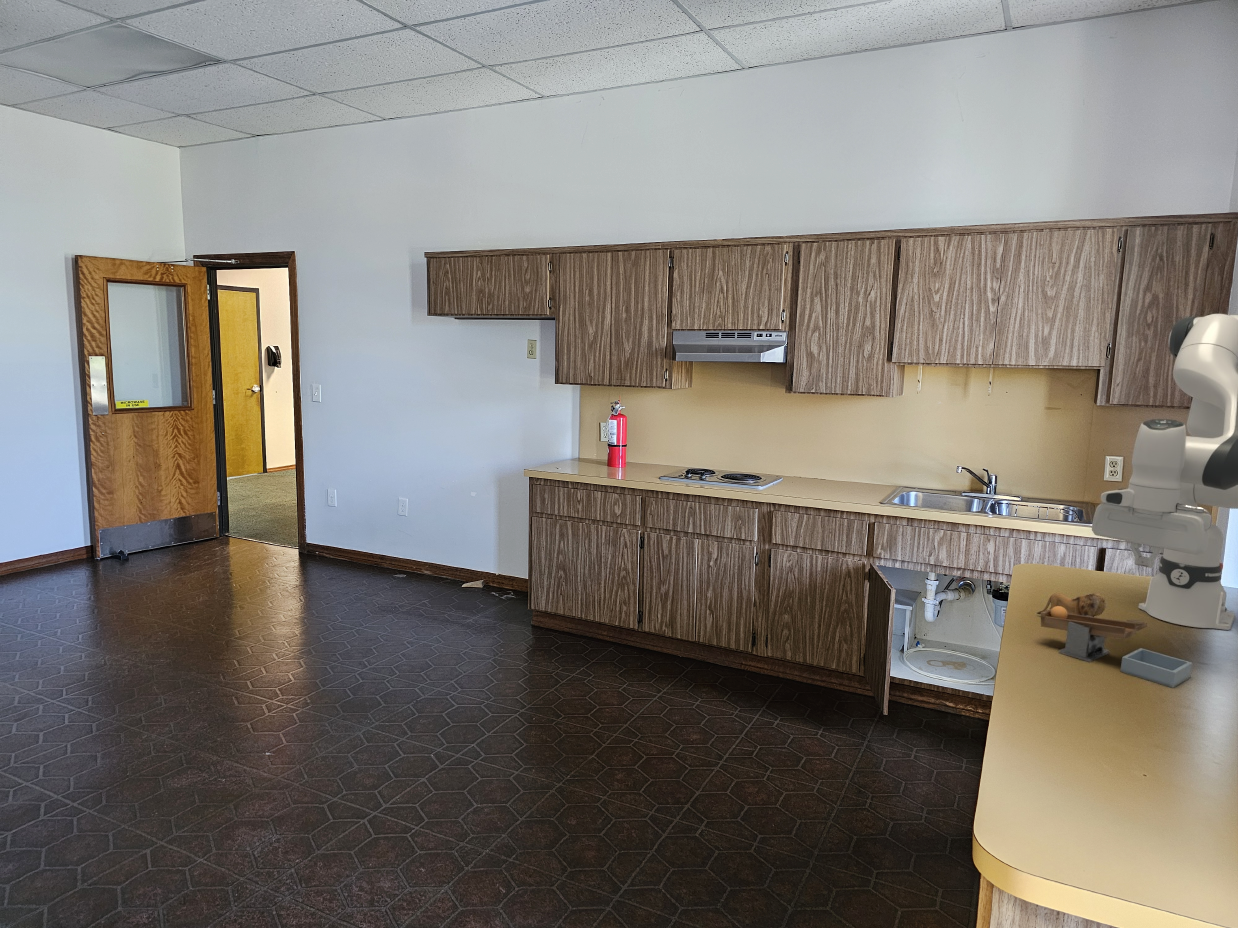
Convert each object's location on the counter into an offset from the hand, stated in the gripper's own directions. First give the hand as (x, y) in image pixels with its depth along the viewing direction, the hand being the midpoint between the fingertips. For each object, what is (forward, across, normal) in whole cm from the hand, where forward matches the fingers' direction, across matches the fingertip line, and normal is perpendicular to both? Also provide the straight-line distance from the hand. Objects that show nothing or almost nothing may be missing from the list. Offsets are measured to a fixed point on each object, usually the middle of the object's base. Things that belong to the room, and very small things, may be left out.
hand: (1143, 565), depth 165 cm
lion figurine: (+19, +16, -8) cm, 26 cm away
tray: (+19, -7, +8) cm, 22 cm away
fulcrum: (+19, +6, +8) cm, 21 cm away
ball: (+12, +12, +8) cm, 19 cm away
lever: (+14, +6, +5) cm, 16 cm away
